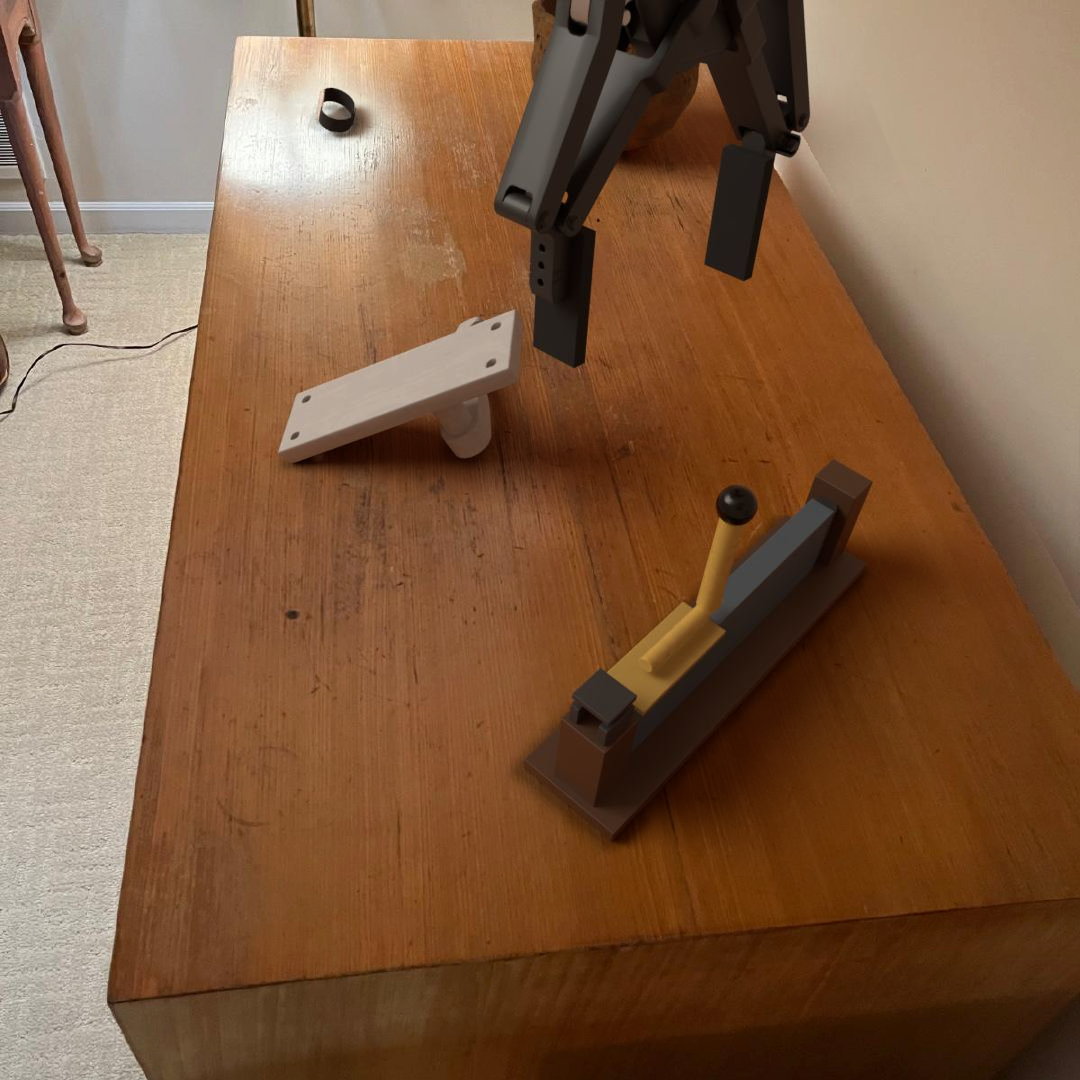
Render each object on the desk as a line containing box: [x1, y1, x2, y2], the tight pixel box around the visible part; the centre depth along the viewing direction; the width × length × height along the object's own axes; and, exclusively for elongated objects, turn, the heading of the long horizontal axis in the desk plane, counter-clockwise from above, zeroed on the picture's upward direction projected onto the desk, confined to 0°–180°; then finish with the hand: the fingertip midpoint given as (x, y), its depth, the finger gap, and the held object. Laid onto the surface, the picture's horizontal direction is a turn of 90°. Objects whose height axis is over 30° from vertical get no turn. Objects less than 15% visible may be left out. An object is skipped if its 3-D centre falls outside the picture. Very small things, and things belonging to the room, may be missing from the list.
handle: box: [277, 309, 524, 464], centre depth 82 cm, size 18×8×20 cm
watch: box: [314, 87, 357, 134], centre depth 116 cm, size 8×5×4 cm, turn 6°
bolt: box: [639, 484, 759, 673], centre depth 56 cm, size 7×2×10 cm, turn 138°
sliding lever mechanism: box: [523, 458, 873, 843], centre depth 65 cm, size 29×7×9 cm, turn 138°
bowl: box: [530, 0, 701, 152], centre depth 113 cm, size 19×19×15 cm
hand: (649, 310), depth 52 cm, fingers open, 13 cm apart
